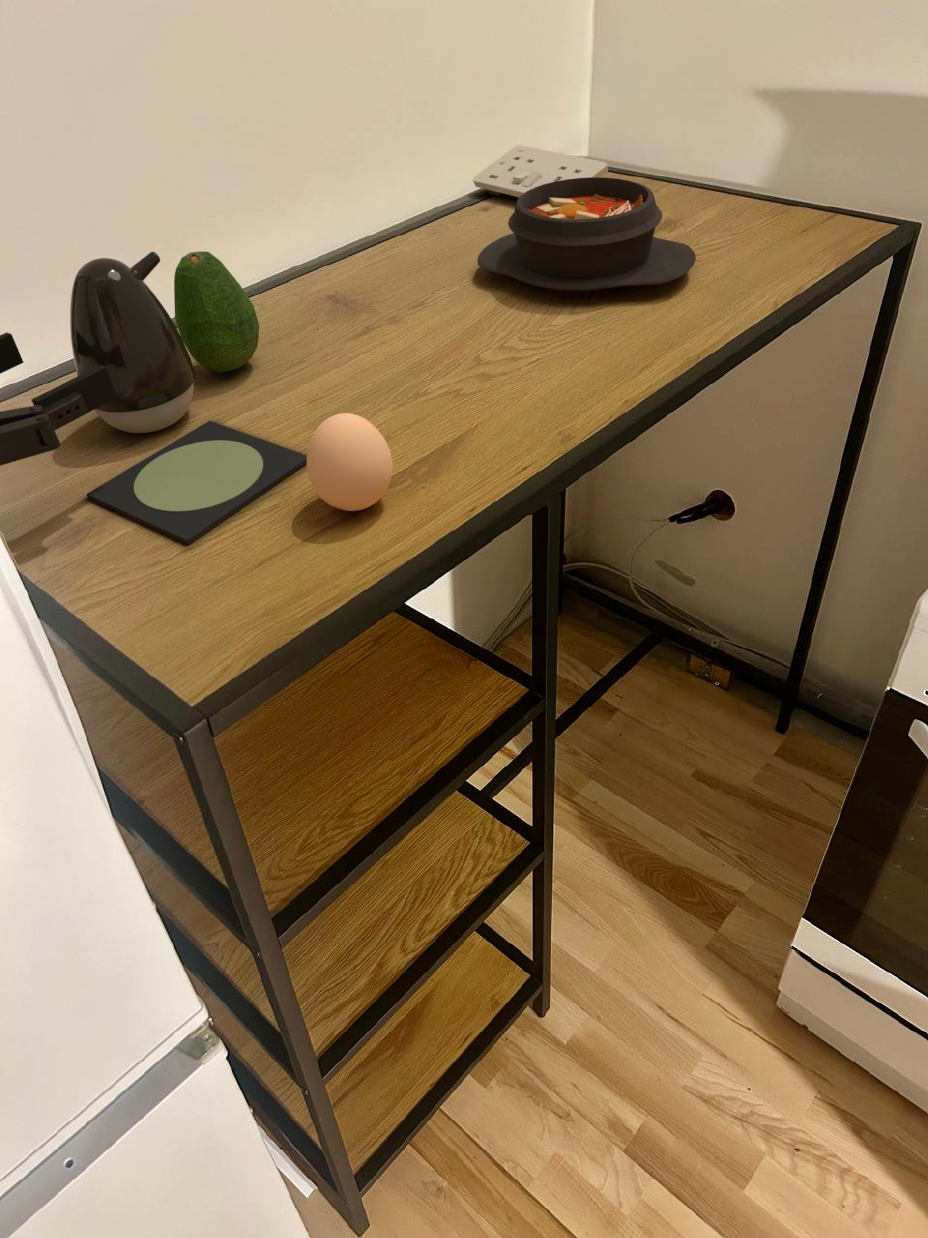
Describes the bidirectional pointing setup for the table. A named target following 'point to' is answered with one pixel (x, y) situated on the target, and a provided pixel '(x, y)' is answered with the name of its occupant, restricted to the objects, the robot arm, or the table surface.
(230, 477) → the placemat
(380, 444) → the egg
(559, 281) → the casserole
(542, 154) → the wall socket
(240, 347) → the avocado
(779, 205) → the table surface
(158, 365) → the pump dispenser
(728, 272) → the table surface
